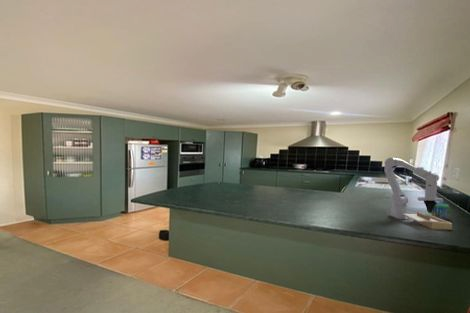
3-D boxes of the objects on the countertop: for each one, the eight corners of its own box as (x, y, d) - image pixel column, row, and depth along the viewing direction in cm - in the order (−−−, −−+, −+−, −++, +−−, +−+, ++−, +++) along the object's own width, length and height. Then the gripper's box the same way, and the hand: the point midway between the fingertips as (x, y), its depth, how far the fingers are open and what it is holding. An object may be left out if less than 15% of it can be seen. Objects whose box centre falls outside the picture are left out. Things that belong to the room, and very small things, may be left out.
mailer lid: (402, 214, 162) (402, 210, 162) (419, 215, 162) (420, 211, 161) (418, 221, 146) (418, 217, 146) (438, 222, 146) (438, 218, 145)
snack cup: (433, 219, 165) (434, 205, 165) (421, 215, 176) (422, 202, 175) (455, 220, 165) (456, 206, 165) (442, 215, 176) (443, 202, 175)
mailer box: (413, 220, 162) (414, 214, 162) (431, 221, 161) (432, 215, 161) (431, 228, 146) (432, 222, 146) (451, 229, 145) (452, 223, 145)
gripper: (423, 192, 149) (422, 213, 150) (447, 193, 148) (446, 214, 149) (416, 190, 156) (414, 209, 157) (438, 191, 155) (437, 210, 156)
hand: (429, 211), depth 153 cm, fingers closed
